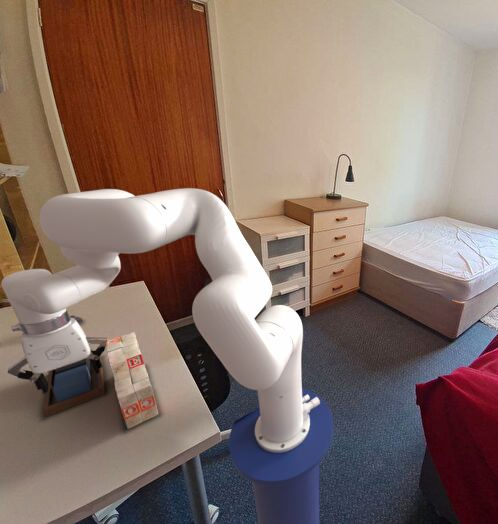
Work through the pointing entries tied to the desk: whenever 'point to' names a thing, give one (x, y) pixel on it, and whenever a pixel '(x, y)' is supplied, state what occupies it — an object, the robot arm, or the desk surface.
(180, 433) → the desk surface
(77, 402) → the pad tray
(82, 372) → the blue block
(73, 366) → the seated pad
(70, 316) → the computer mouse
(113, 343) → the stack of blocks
